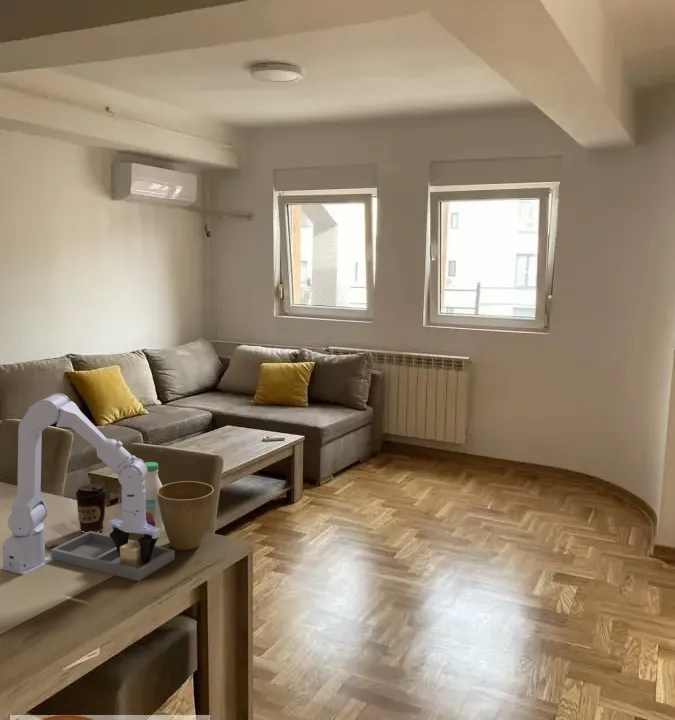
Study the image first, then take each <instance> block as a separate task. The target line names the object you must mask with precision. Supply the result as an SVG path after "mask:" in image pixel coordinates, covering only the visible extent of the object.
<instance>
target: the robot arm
mask: <svg viewBox="0 0 675 720" xmlns="http://www.w3.org/2000/svg"><path fill="white" fill-rule="evenodd" d="M55 423H56V425H55V426H56V427H57V428H58V427H59V428H71V429H72V430H74V431H75V432H76V433H77V434H78V435H80V436H81V437H82V438H83V439H84V440H86V442H88V443H89V444H91V446H93V447H94V448H96V456H97V458H98V459H100V460H101V461H102V463H104V464H105V465H106V466H107V467H108V468H110V469H111V470H112V471H113V472H114V474H116V475H118V476H117V480H118V483H119V484H120V485H121V518H122V519H112V520H109V521H108V529H110V530H112V531H111V532H110V533H109V535H110V537H111V538H112V540H113V541H114V543H115V545H116V548H117V551H118V554H119V557H120V547H121V546H123V545H125V544H127V543H128V539H129V538H130V534H138V535H142V537H140V538H139V539H138V540H137V541H138V542H139V544H140V547H141V553H142V563H143V564H147V563H148V562H150V559H151V554H152V551H153V548H154V546H156V543H157V542H158V539H159V538H160V536H161V533H160V529H158V528H155V527H153V526H151V525H149V524H147V521H146V491H145V480H143V479H144V478H145V477H146V475H147V471H148V469H147V465H146V464H145V463H146V462H145V461H144V460H143V459H141V458H139V457H136V456H135V455H132V454H131V453H130V452H129V451H128V450H127V449H126V448H124V447H123V444H124V443H123V442H122V441H121V440H118V441H117V440H116V439H115V438H107V437H106V436H105V435H104V434H103V433H102V432H101V431H100V430H99V429H98V428H97V427H96V426H95V425H94V423H92V422H91V420H89V419H88V417H87V416H86V415H85V414H84V413H83V412H82V411H81V410H80V408H79V406H78V405H77V404H76V403H75V402H74V401H72V400H70V398H69V397H68V396H67V395H65V394H64V393H59V392H57V393H52V394H51V395H49V396H48V397H46V398H44V399H40V400H38V401H37V402H35V403H34V404H31V405H30V406H28V410H27V412H26V413H25V415H24V416H23V418H22V419H21V421H20V422H19V424H18V427H17V428H18V429H17V430H18V434H17V486H16V487H17V488H16V489H17V492H16V493H17V494H16V496H15V498H14V501H13V503H12V506H11V513H10V515H9V516H8V519H7V527H8V529H9V530H10V531H11V532H12V533H11V535H10V536H9V537H8V538H6V539H5V540H4V541H3V542H2V564H3V565H2V566H1V567H0V569H1V570H3V571H7V572H11V573H14V574H18V575H22V576H23V575H26V574H27V573H30V572H32V571H34V570H36V569H38V568H40V567H42V566H44V565H46V564H48V563H50V562H52V561H54V560H53V559H51V557H47V556H46V545H45V544H46V540H45V539H46V537H45V524H44V520H45V519H46V518H47V516H48V513H49V512H48V511H49V509H48V506H47V504H46V503H45V495H44V494H43V492H42V489H41V486H42V483H41V482H42V481H41V480H42V435H43V434H42V433H43V431H44V430H45V429H46V428H48V427H49V426H51V425H53V424H55Z"/></svg>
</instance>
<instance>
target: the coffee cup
mask: <svg viewBox="0 0 675 720" xmlns="http://www.w3.org/2000/svg"><path fill="white" fill-rule="evenodd" d="M107 497H108V489H107V488H106V485H105V484H101V483H91V484H89V483H88V484H86V485H80V486H79V487H78V488H77V491H76V492H75V498H76V505H77V513H78V514H77V517H78V521H79V527H80V529H81V531H84V532H89V531H93V532H98V531H101V530H103V529H104V530H105V527H104V520H105V516H106V510H107V509H106V508H107V504H106V503H107V502H106V501H107ZM80 529H79V530H80ZM104 530H103V531H104ZM81 531H80V532H81Z"/></svg>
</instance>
